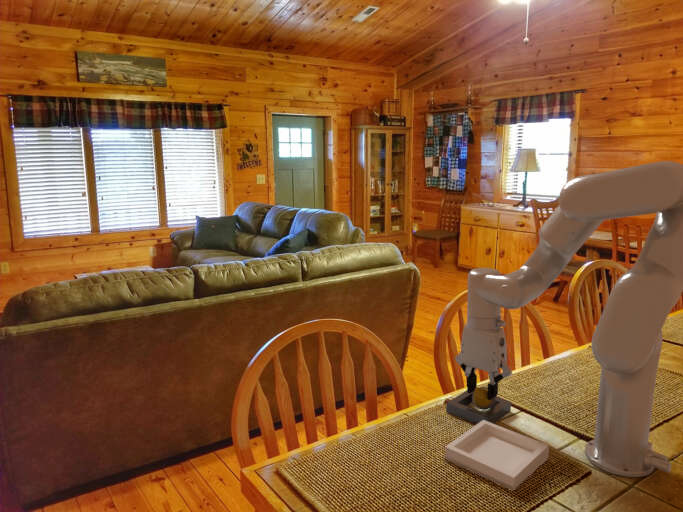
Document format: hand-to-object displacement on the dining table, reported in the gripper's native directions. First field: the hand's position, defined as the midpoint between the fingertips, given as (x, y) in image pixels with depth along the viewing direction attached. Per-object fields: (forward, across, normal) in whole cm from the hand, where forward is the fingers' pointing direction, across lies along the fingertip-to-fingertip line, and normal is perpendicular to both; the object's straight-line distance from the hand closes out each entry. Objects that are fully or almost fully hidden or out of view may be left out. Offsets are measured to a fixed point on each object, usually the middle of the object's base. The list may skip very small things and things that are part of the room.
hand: (481, 393), depth 128 cm
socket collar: (+5, +1, 0) cm, 5 cm away
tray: (+5, -12, +15) cm, 20 cm away
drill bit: (+4, -1, 0) cm, 4 cm away
